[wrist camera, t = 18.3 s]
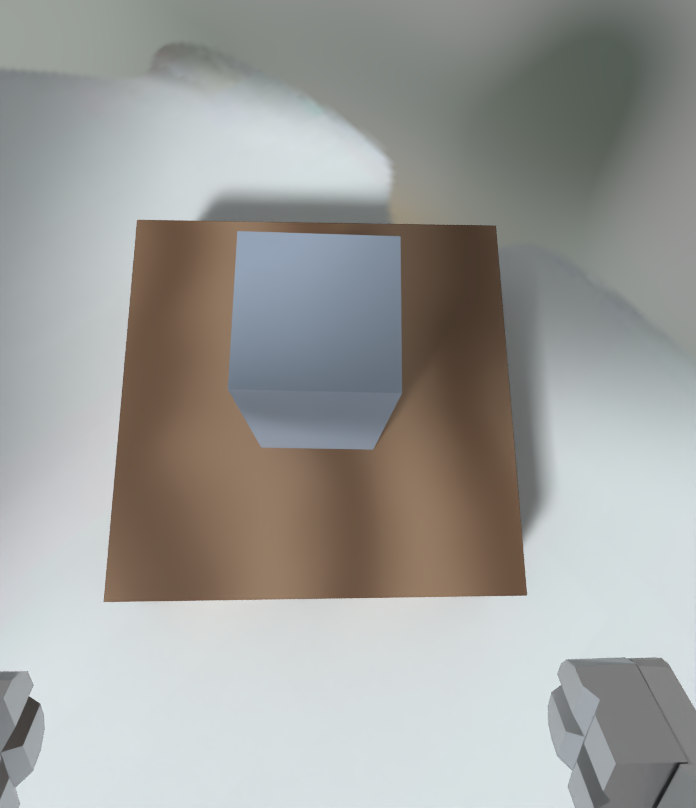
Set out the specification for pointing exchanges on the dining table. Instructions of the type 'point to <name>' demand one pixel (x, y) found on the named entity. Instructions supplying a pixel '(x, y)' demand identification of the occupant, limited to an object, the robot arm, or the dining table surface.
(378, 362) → the slate pillar
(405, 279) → the walnut block
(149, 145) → the dining table surface
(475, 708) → the dining table surface
